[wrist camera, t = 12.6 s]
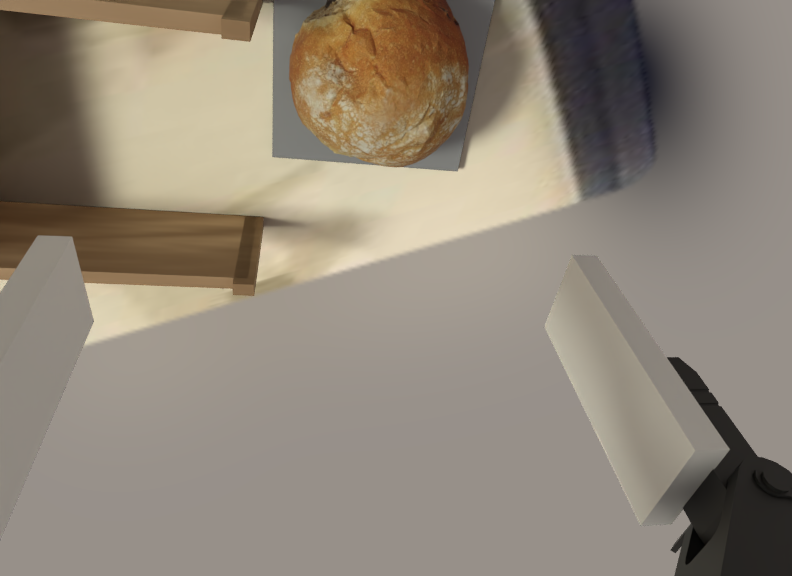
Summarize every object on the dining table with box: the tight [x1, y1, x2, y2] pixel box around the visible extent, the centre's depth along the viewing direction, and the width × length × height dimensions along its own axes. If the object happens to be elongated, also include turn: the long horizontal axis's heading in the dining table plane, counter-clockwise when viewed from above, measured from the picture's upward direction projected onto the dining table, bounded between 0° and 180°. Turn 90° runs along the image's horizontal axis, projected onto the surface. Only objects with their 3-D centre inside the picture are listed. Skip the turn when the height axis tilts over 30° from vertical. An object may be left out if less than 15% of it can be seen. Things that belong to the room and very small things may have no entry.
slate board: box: [272, 0, 495, 171], centre depth 34 cm, size 12×12×1 cm
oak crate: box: [0, 0, 263, 296], centre depth 31 cm, size 15×17×8 cm
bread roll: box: [289, 0, 469, 167], centre depth 32 cm, size 10×10×8 cm
